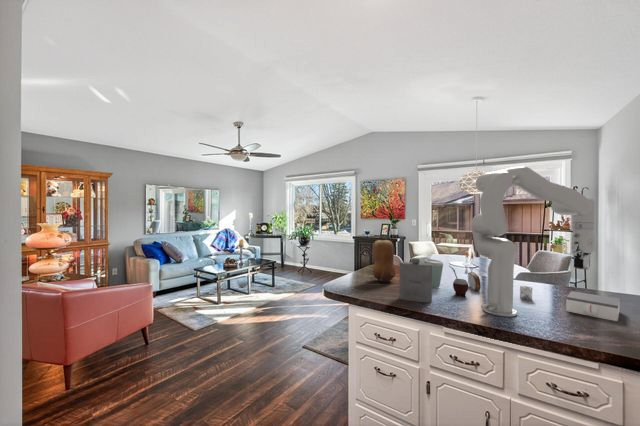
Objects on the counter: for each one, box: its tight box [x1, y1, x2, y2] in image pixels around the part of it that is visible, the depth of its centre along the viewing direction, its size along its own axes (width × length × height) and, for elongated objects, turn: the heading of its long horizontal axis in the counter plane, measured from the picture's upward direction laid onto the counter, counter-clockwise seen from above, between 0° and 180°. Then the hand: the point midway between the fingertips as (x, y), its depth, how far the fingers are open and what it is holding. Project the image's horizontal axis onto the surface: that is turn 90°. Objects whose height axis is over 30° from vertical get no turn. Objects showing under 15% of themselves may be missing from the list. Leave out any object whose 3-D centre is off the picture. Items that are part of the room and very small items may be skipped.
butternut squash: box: [372, 239, 397, 283], centre depth 180 cm, size 14×13×25 cm
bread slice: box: [467, 271, 482, 292], centre depth 167 cm, size 15×3×8 cm, turn 168°
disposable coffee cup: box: [423, 258, 444, 289], centre depth 169 cm, size 11×11×15 cm
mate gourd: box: [448, 265, 469, 298], centre depth 153 cm, size 8×8×15 cm
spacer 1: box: [519, 285, 533, 302], centre depth 148 cm, size 5×5×6 cm
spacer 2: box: [573, 253, 591, 271], centre depth 133 cm, size 5×5×6 cm
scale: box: [565, 290, 621, 322], centre depth 130 cm, size 17×16×6 cm
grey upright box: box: [398, 257, 433, 303], centre depth 145 cm, size 15×6×20 cm, turn 70°
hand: (581, 266), depth 133 cm, fingers closed on spacer 2, 5 cm apart
